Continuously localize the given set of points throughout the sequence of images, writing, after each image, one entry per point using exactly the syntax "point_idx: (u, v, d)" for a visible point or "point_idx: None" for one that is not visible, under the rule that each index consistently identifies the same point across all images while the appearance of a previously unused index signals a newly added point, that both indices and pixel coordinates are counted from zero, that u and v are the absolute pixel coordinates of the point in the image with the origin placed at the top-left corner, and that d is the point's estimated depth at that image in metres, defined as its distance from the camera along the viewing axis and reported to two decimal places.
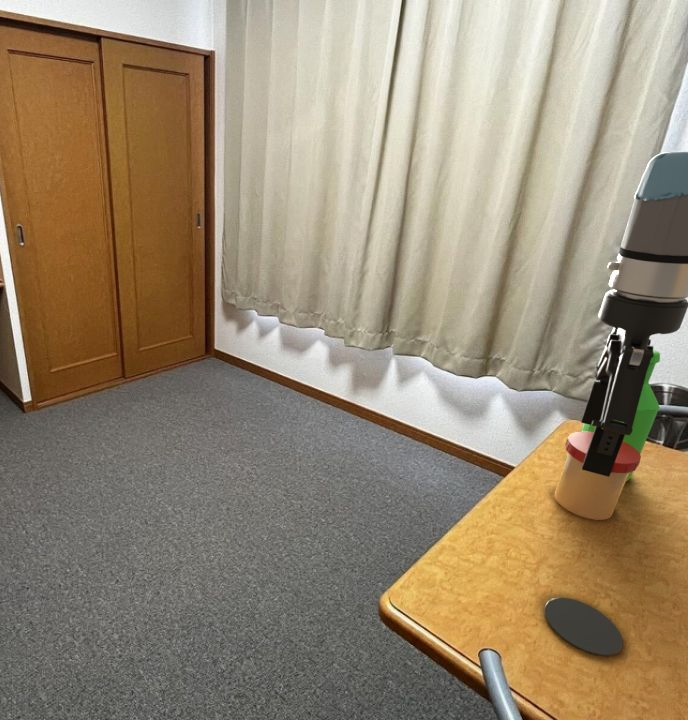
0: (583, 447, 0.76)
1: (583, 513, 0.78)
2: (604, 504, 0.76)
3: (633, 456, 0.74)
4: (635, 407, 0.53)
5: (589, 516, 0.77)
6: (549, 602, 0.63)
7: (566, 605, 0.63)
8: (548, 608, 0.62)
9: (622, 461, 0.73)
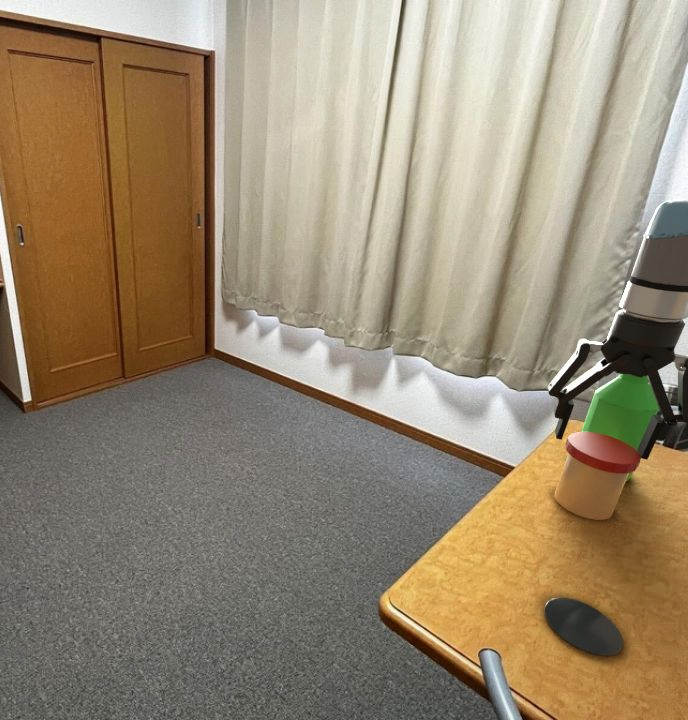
0: (584, 447, 0.76)
1: (583, 513, 0.78)
2: (604, 504, 0.76)
3: (633, 456, 0.74)
4: (559, 378, 0.75)
5: (589, 516, 0.77)
6: (549, 602, 0.63)
7: (566, 605, 0.63)
8: (548, 608, 0.62)
9: (622, 461, 0.73)
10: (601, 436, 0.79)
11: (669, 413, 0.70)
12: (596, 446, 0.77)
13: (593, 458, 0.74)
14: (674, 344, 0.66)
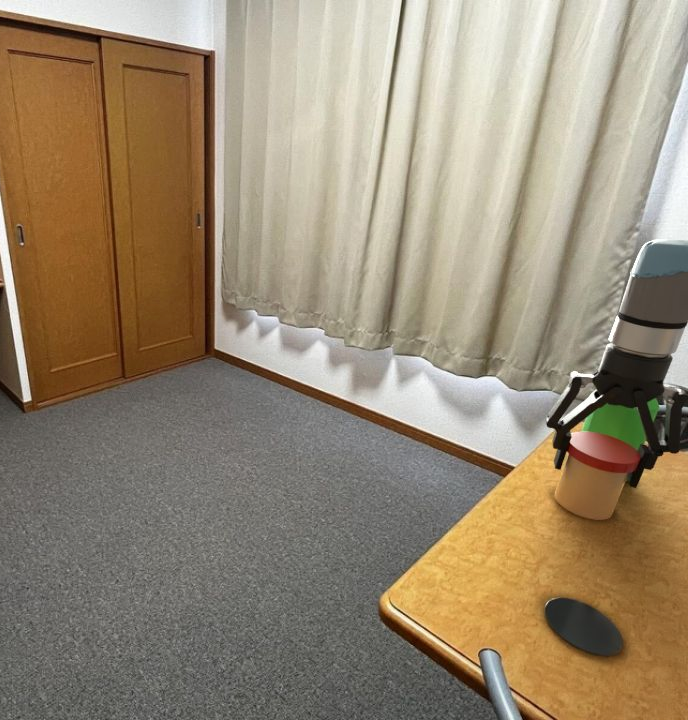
0: (583, 447, 0.76)
1: (583, 513, 0.78)
2: (604, 504, 0.76)
3: (633, 456, 0.74)
4: (555, 410, 0.77)
5: (589, 516, 0.77)
6: (549, 602, 0.63)
7: (566, 605, 0.63)
8: (548, 608, 0.62)
9: (622, 461, 0.73)
10: (601, 436, 0.79)
11: (656, 444, 0.72)
12: (596, 446, 0.77)
13: (593, 458, 0.74)
14: (662, 378, 0.68)
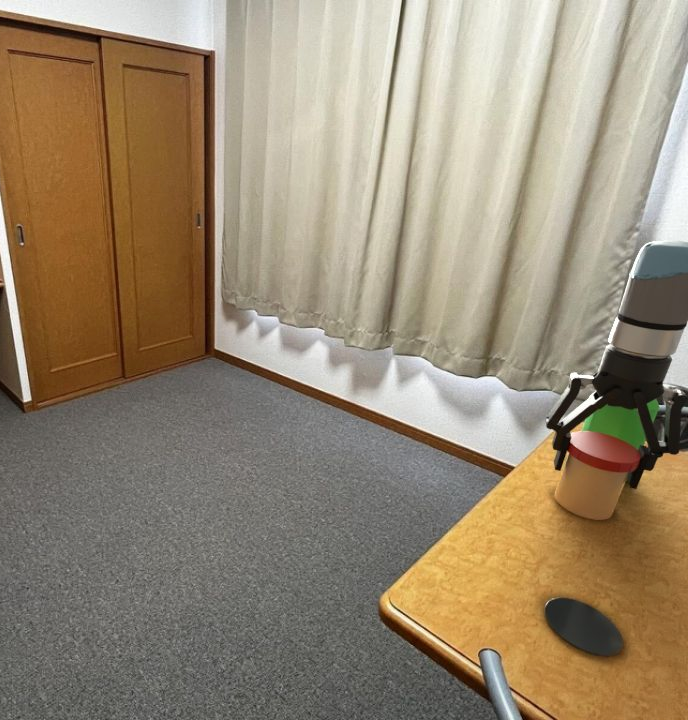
0: (615, 457, 0.73)
1: (583, 513, 0.78)
2: (604, 504, 0.76)
3: (615, 439, 0.78)
4: (555, 411, 0.77)
5: (589, 516, 0.77)
6: (549, 602, 0.63)
7: (566, 605, 0.63)
8: (548, 608, 0.62)
9: (633, 449, 0.75)
10: (576, 437, 0.79)
11: (655, 445, 0.72)
12: (605, 449, 0.75)
13: (636, 462, 0.73)
14: (662, 379, 0.68)
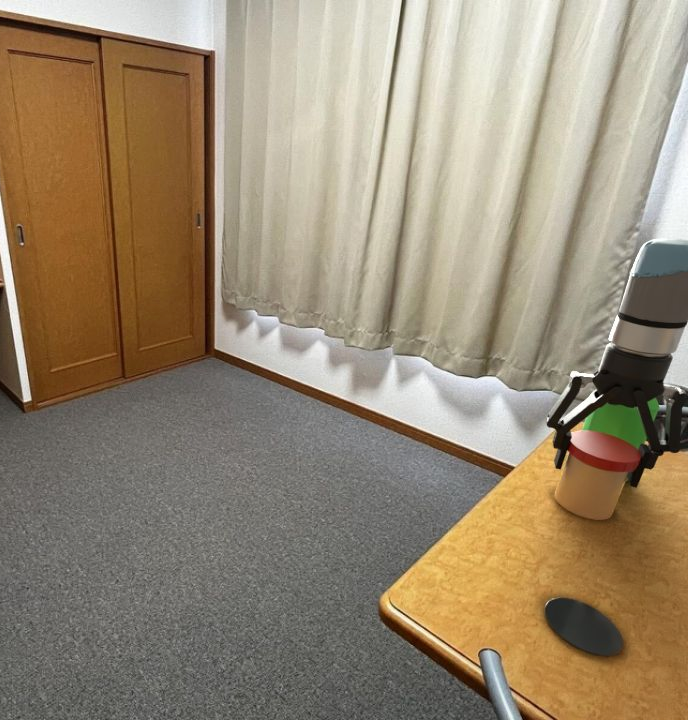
0: (628, 449, 0.75)
1: (583, 513, 0.78)
2: (604, 504, 0.76)
3: (581, 433, 0.80)
4: (555, 410, 0.77)
5: (589, 516, 0.77)
6: (549, 602, 0.63)
7: (566, 605, 0.63)
8: (548, 608, 0.62)
9: (599, 433, 0.80)
10: (592, 452, 0.75)
11: (656, 443, 0.72)
12: (612, 447, 0.76)
13: None
14: (663, 377, 0.68)
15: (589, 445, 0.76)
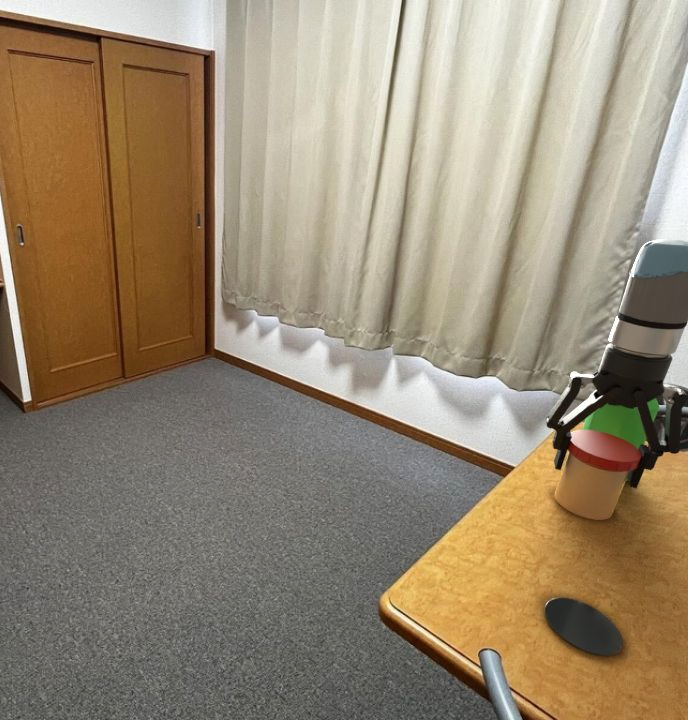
0: (604, 436, 0.79)
1: (583, 513, 0.78)
2: (604, 504, 0.76)
3: (581, 445, 0.76)
4: (555, 410, 0.77)
5: (589, 516, 0.77)
6: (549, 602, 0.63)
7: (566, 605, 0.63)
8: (548, 608, 0.62)
9: (573, 435, 0.79)
10: (628, 457, 0.73)
11: (656, 444, 0.72)
12: (605, 442, 0.77)
13: None
14: (662, 378, 0.68)
15: (611, 452, 0.74)
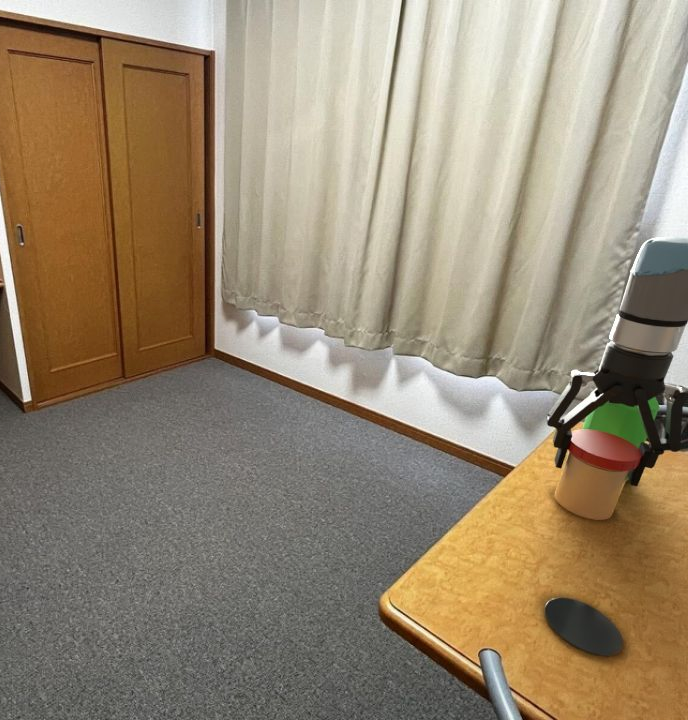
0: (580, 436, 0.79)
1: (583, 513, 0.78)
2: (604, 504, 0.76)
3: (617, 457, 0.73)
4: (556, 408, 0.77)
5: (589, 516, 0.77)
6: (549, 602, 0.63)
7: (566, 605, 0.63)
8: (548, 608, 0.62)
9: (593, 452, 0.74)
10: (625, 443, 0.76)
11: (657, 442, 0.72)
12: (596, 441, 0.77)
13: (570, 441, 0.77)
14: (663, 376, 0.68)
15: (622, 447, 0.75)
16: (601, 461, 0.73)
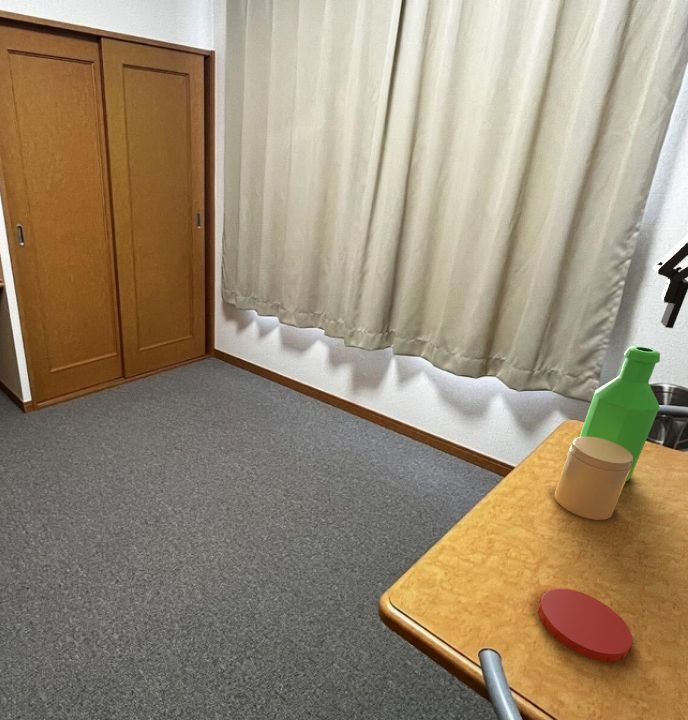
0: (555, 601, 0.62)
1: (583, 513, 0.78)
2: (604, 504, 0.76)
3: (601, 646, 0.56)
4: (676, 252, 0.64)
5: (589, 516, 0.77)
6: None
7: None
8: None
9: (570, 636, 0.58)
10: (612, 616, 0.60)
11: None
12: (575, 612, 0.60)
13: (542, 611, 0.61)
14: None
15: (607, 626, 0.59)
16: (580, 650, 0.57)
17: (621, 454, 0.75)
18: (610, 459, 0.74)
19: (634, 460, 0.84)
